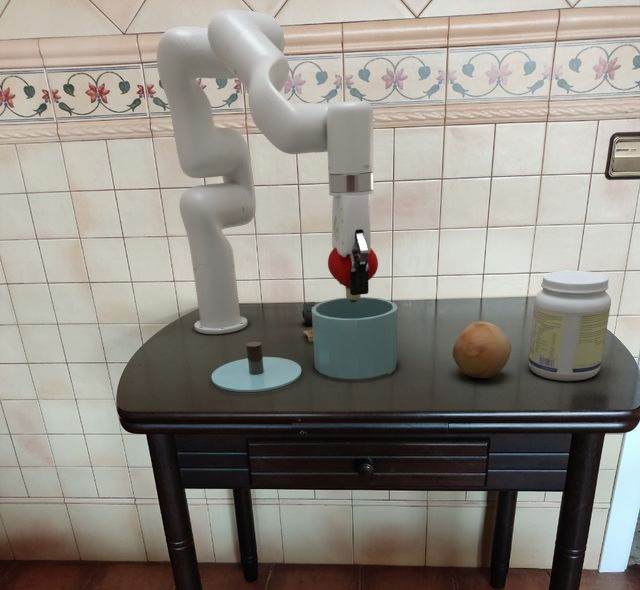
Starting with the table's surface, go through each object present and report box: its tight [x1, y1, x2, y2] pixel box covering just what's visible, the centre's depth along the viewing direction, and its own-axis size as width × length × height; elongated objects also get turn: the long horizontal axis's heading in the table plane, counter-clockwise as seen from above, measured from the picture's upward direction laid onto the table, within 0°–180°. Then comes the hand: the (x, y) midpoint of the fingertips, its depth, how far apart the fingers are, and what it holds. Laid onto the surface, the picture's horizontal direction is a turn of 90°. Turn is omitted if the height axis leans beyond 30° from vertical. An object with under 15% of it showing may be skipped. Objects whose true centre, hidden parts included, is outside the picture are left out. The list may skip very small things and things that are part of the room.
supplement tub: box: [527, 270, 612, 382], centre depth 104 cm, size 12×12×17 cm
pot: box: [312, 296, 398, 380], centre depth 112 cm, size 16×16×12 cm
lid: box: [211, 341, 303, 393], centre depth 110 cm, size 17×17×7 cm
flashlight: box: [301, 301, 319, 326], centre depth 140 cm, size 15×5×5 cm, turn 94°
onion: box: [452, 320, 512, 379], centre depth 105 cm, size 10×10×10 cm
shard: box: [303, 328, 314, 343], centre depth 128 cm, size 11×8×2 cm
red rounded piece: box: [327, 247, 379, 302], centre depth 107 cm, size 9×7×10 cm
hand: (353, 288), depth 108 cm, fingers closed on red rounded piece, 7 cm apart
